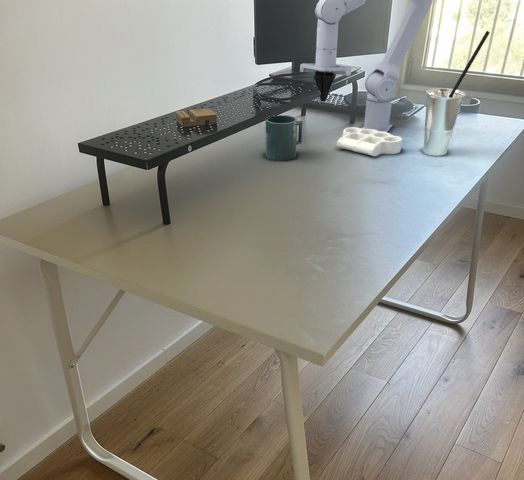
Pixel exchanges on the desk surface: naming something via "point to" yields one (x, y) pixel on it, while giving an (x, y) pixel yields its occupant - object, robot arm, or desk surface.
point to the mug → (282, 137)
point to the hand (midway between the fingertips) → (323, 100)
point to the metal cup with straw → (444, 112)
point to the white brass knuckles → (369, 141)
